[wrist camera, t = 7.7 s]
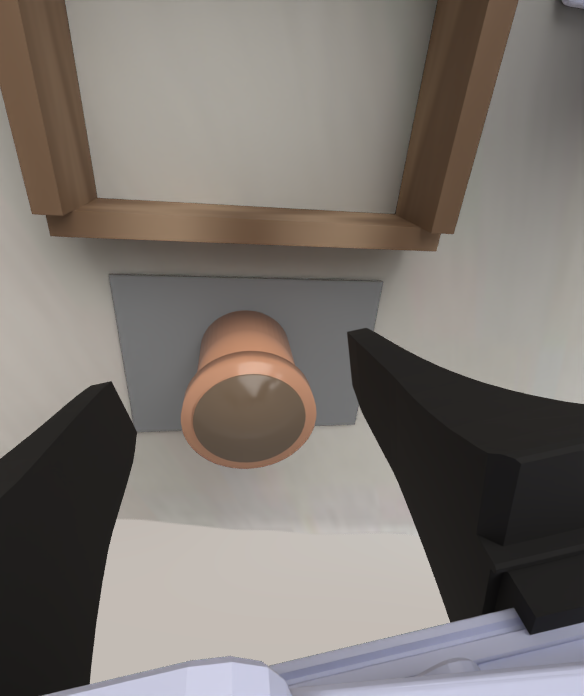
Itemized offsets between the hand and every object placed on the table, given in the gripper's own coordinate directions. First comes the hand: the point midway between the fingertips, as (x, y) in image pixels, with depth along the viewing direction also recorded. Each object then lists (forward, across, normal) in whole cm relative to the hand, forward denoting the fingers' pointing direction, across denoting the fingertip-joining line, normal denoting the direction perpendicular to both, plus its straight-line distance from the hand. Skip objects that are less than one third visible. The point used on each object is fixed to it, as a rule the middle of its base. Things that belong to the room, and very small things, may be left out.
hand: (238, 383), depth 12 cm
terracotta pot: (+9, 0, +4) cm, 10 cm away
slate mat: (+9, 0, +5) cm, 11 cm away
